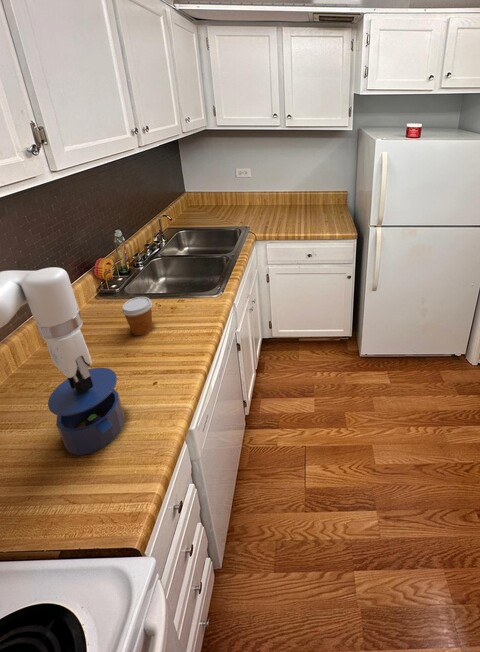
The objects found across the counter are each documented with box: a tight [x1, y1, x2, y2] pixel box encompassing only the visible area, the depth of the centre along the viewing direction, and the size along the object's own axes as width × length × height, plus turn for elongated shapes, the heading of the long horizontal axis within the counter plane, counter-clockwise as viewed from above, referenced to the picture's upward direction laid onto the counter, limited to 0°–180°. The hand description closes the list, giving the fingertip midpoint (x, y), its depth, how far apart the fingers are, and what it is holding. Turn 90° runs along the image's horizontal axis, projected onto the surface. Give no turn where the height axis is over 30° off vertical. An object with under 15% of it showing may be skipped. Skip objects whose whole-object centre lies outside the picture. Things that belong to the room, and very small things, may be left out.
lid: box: [47, 367, 118, 416], centre depth 78 cm, size 14×14×6 cm
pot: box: [55, 389, 126, 456], centre depth 82 cm, size 13×18×8 cm
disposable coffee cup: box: [121, 296, 153, 336], centre depth 117 cm, size 10×10×12 cm
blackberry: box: [85, 413, 102, 427], centre depth 83 cm, size 3×3×5 cm
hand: (82, 387), depth 78 cm, fingers closed on lid, 2 cm apart
